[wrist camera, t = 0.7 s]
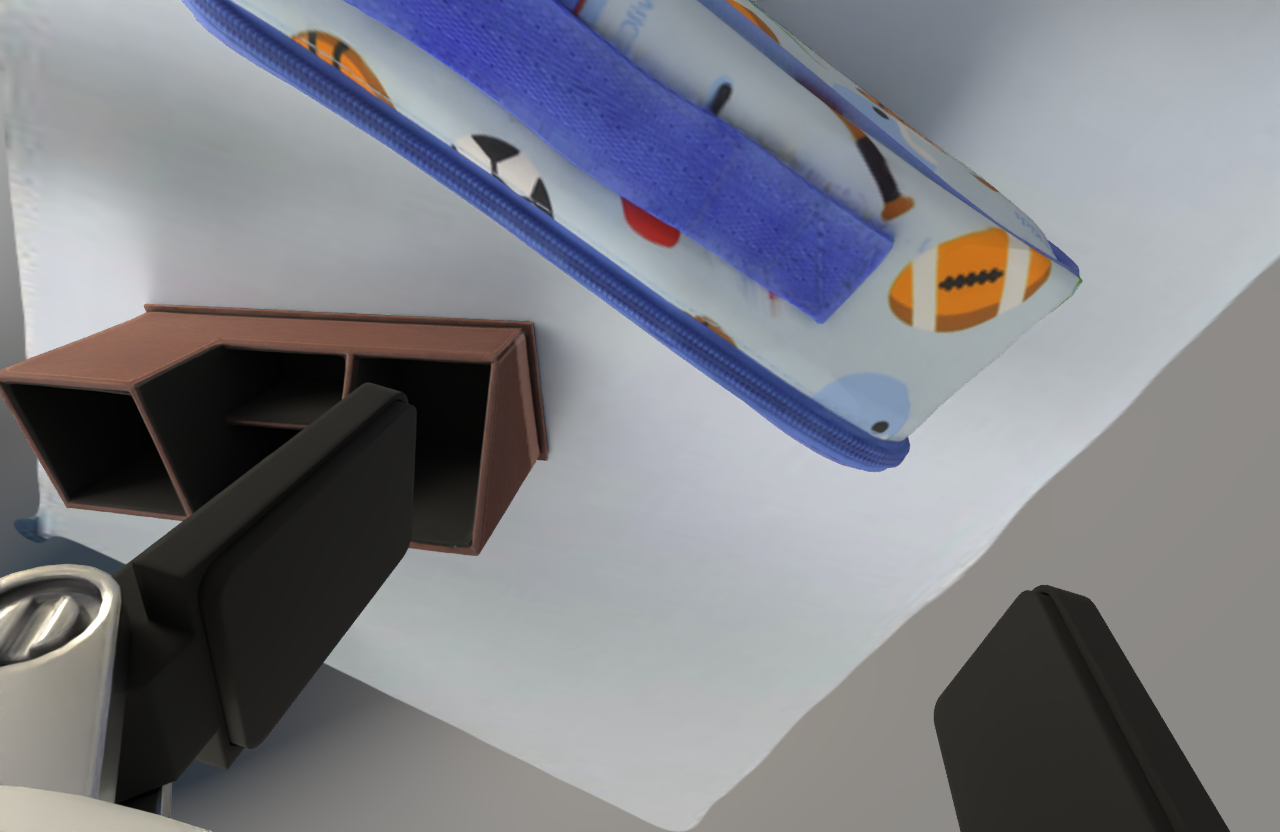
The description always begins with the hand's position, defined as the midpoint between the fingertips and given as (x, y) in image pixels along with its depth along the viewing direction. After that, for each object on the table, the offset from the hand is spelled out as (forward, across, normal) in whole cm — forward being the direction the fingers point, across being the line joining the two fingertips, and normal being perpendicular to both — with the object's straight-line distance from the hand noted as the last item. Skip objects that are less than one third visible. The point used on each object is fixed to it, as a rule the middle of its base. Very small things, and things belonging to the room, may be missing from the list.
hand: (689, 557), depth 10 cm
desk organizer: (+29, +24, +19) cm, 42 cm away
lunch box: (+29, +5, -4) cm, 29 cm away
